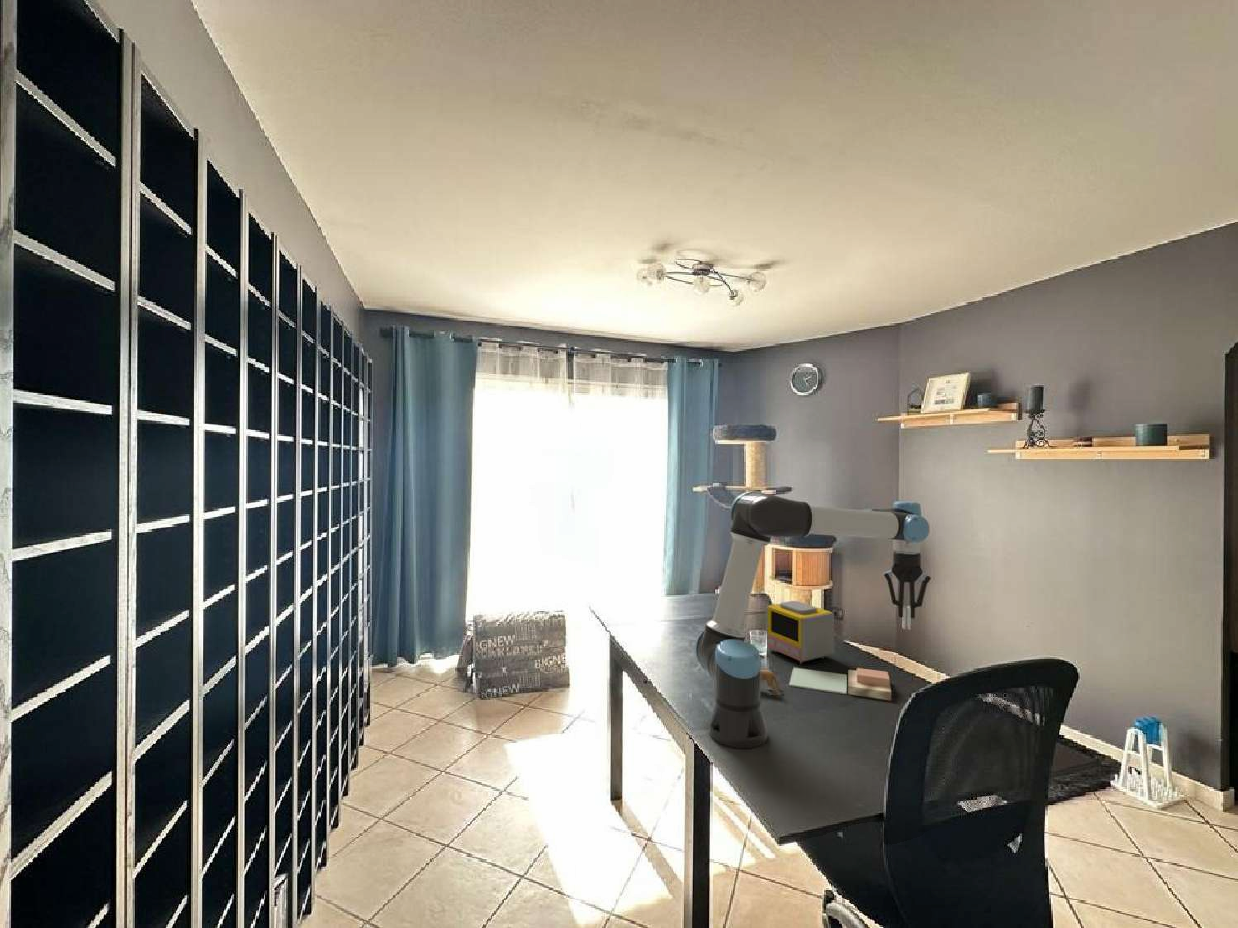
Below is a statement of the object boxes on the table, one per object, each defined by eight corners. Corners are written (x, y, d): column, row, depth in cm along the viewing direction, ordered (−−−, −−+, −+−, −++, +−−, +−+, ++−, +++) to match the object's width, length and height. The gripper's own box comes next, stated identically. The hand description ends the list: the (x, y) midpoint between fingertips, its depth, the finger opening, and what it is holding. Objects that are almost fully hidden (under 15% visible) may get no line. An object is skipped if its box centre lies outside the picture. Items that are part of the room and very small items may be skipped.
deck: (848, 694, 174) (848, 686, 174) (848, 676, 187) (848, 669, 187) (891, 700, 169) (891, 692, 169) (888, 682, 182) (888, 674, 182)
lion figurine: (734, 689, 178) (734, 661, 177) (737, 683, 183) (737, 655, 182) (782, 697, 172) (782, 668, 172) (784, 690, 177) (784, 662, 177)
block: (856, 682, 176) (856, 674, 176) (856, 675, 182) (856, 667, 182) (888, 686, 173) (888, 678, 173) (887, 679, 178) (887, 671, 178)
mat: (789, 685, 180) (789, 684, 180) (793, 668, 194) (793, 667, 194) (846, 694, 173) (846, 692, 173) (846, 676, 187) (846, 674, 187)
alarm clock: (763, 650, 212) (763, 601, 212) (795, 643, 219) (795, 596, 219) (802, 668, 195) (802, 615, 194) (835, 659, 202) (835, 608, 201)
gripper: (882, 552, 172) (882, 629, 172) (933, 555, 167) (933, 634, 167) (881, 548, 179) (881, 622, 179) (930, 551, 174) (930, 626, 174)
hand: (906, 627), depth 173 cm, fingers closed
